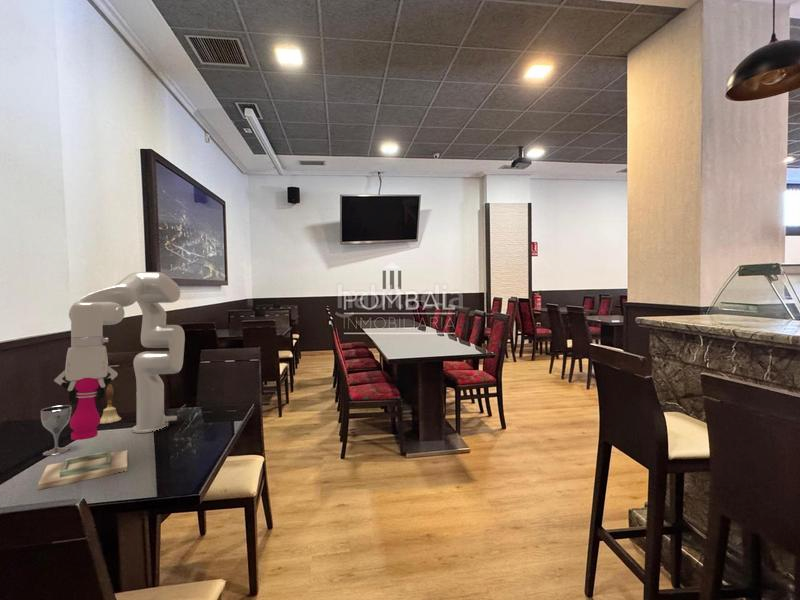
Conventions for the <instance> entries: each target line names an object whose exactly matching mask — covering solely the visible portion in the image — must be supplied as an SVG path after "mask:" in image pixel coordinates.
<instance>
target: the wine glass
mask: <svg viewBox="0 0 800 600" xmlns="http://www.w3.org/2000/svg"><path fill="white" fill-rule="evenodd" d="M71 414H72V405H69V404H64V405H63V404H62V405H55V406H48V407H45V408H42V409H41V410H40V420H41V424H42V427H44V429H46V430H47V431H49V432H50V433H51V434H52V436H53V439H54V447H53V448H52V449H49V451H48V450H46V451H44V452H42V454H43V455H42V456H54V455H60V454H63V453H65V452H64V451H66V452H68V451H69V450H68V448H69V447H66V448H65V447H59V437H60V433H61V432H62V430H64V428H65V427H66V426H67V425H68V424H70V420H71V418H72V415H71ZM67 450H68V451H67ZM62 452H63V453H62Z"/></svg>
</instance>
